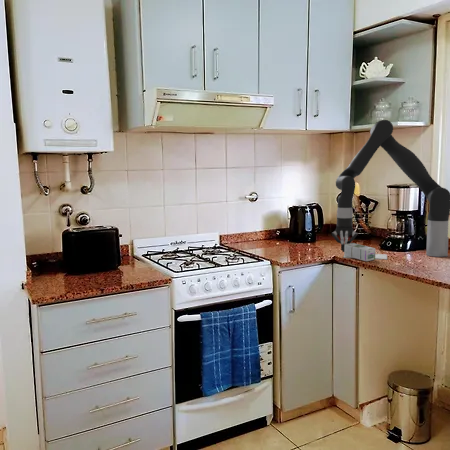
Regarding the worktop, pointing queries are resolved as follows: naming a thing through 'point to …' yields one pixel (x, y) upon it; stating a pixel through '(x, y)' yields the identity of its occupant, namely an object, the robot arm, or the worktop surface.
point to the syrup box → (359, 251)
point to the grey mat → (377, 256)
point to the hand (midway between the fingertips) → (344, 251)
